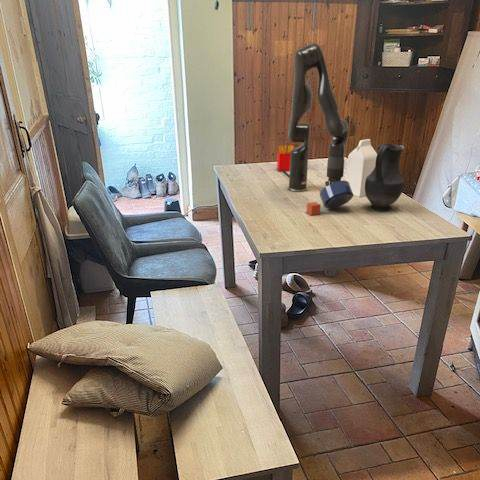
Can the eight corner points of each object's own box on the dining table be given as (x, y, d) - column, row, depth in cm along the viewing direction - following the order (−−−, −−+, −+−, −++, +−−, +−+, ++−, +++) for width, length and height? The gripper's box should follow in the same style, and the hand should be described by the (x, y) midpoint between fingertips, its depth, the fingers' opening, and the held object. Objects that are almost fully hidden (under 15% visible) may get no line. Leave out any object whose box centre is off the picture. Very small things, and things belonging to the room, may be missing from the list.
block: (306, 212, 231) (307, 203, 229) (315, 211, 232) (315, 202, 230) (311, 215, 227) (311, 205, 225) (319, 214, 229) (320, 204, 227)
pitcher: (404, 206, 238) (415, 141, 222) (389, 218, 223) (400, 149, 208) (370, 200, 246) (378, 137, 231) (353, 212, 231) (360, 145, 216)
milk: (359, 196, 252) (365, 143, 239) (342, 191, 260) (348, 139, 247) (375, 192, 258) (382, 140, 245) (358, 187, 266) (364, 136, 253)
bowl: (319, 211, 234) (314, 199, 235) (345, 207, 239) (340, 195, 240) (332, 195, 221) (327, 182, 222) (359, 191, 226) (354, 179, 227)
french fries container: (276, 168, 302) (277, 144, 295) (291, 168, 303) (292, 144, 296) (279, 171, 296) (280, 147, 289) (294, 171, 297) (295, 146, 290)
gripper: (321, 164, 231) (319, 201, 239) (336, 170, 220) (333, 208, 228) (334, 162, 233) (332, 199, 241) (350, 168, 222) (347, 206, 231)
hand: (333, 203), depth 235 cm, fingers closed
